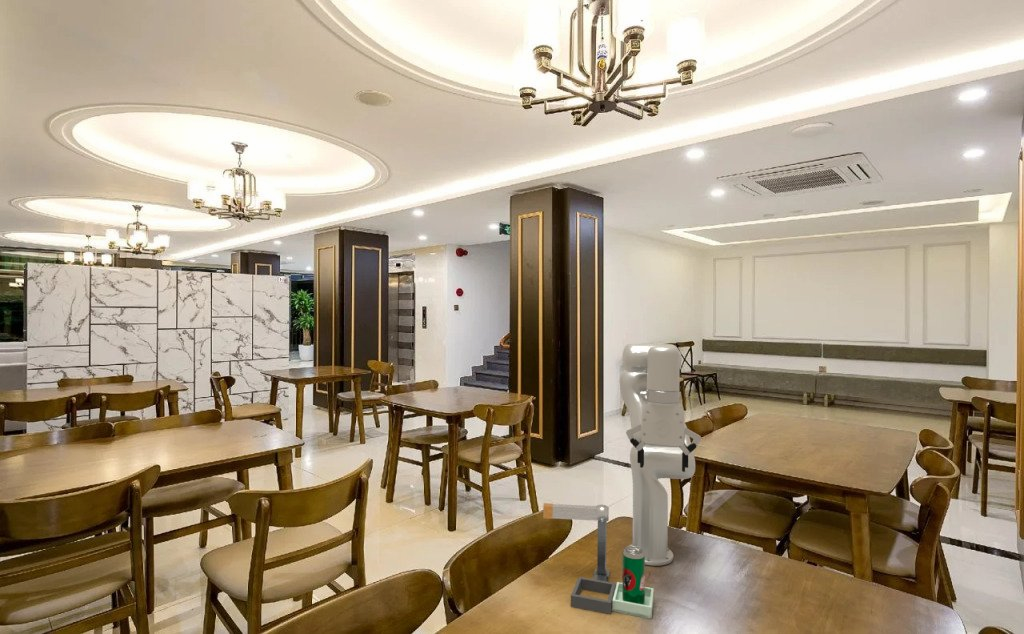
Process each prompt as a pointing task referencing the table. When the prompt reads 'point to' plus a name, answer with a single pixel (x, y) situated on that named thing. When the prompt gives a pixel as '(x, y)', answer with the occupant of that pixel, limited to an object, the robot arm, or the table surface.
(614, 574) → the table surface
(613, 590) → the collar
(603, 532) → the post
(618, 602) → the tray
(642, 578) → the soda can
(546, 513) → the bar
